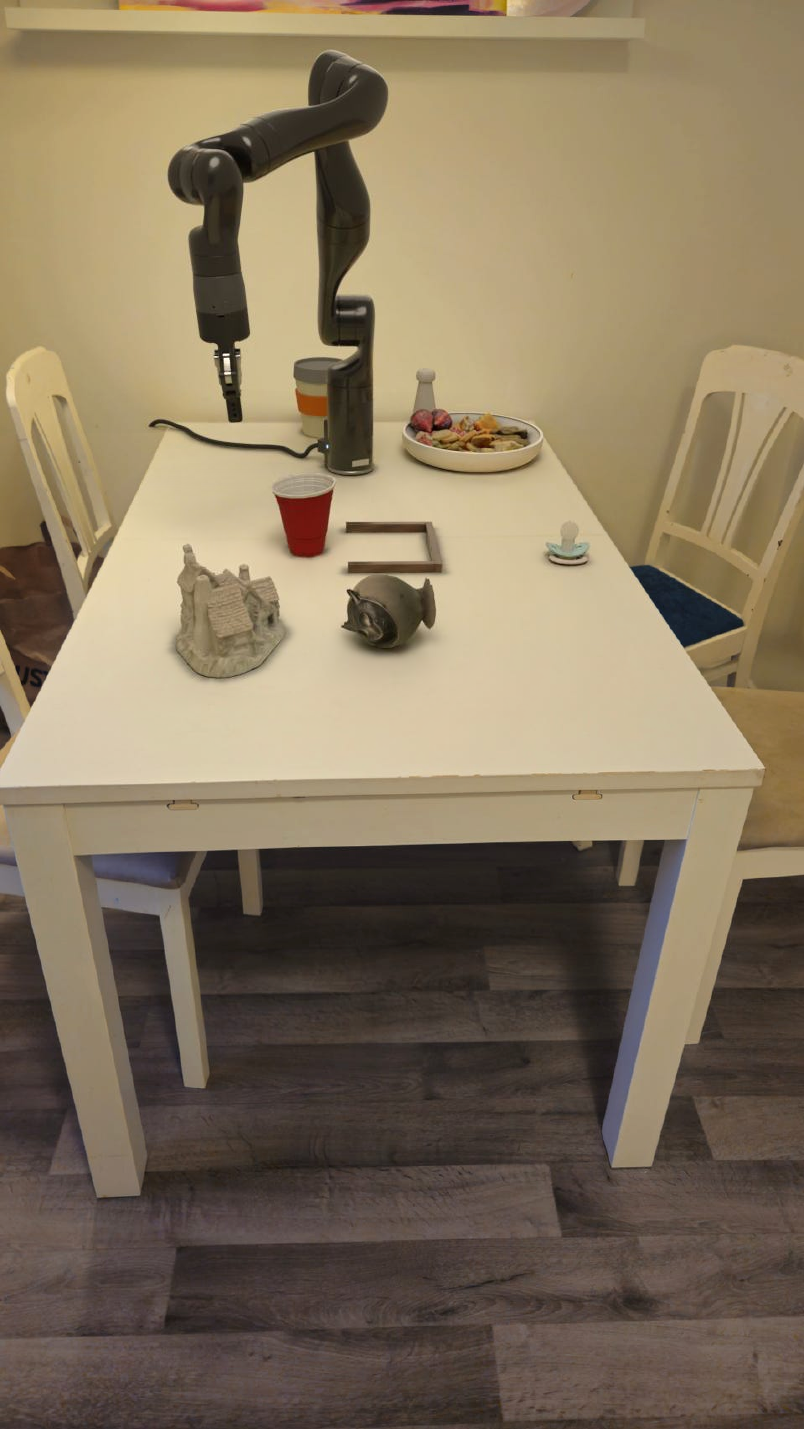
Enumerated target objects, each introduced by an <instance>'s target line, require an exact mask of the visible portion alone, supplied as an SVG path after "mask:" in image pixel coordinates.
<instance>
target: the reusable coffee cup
mask: <svg viewBox="0 0 804 1429" xmlns="http://www.w3.org/2000/svg"><path fill="white" fill-rule="evenodd" d="M342 360H343V359H342V358H337V357H330V356H329V357H327V356H313V357H305V358H300V359H297V360H295V361H294V362H293V372H292V373H293V374H292V376H293V379H294V380H295V386H296V388H295V389H294V392H295V393H294V394H295V398H296V404H297V410H298V412H299V414H300V418H301V419H300V420H301V425H302V430H303V434H304V435H305V436H308V437H312V438H319V439H321V438H324V420H325V419H327V385H326V371H327V368H328V367H329V366H330V365H332V364H334V363H337V362H339V361H342Z"/></svg>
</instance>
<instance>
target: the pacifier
mask: <svg viewBox="0 0 804 1429" xmlns="http://www.w3.org/2000/svg"><path fill="white" fill-rule="evenodd" d="M578 535H579V526H578V524H577V523H576V522H575V521H574V520H567V521H565V522H564V523H562V525H561V526H560V537H561V545H559V544H556V543H553V542H549V541H546V542H545V546H546V548H547V549H548V550H549V551H551V552H552V553H553V554H550V555H549V557H548V559H549V560H550V561H551V562H553V563H556V564H562V565H580V564H584V563H585V562H587V561H588V559H589V558H588V556H586V555H584V554H585V553H587V552H588V551H589V550H590V547H591V545H590V542H587V541H584V542H578V543H575V542H576V541H575V540H576V538H577V537H578Z"/></svg>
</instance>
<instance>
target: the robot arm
mask: <svg viewBox="0 0 804 1429" xmlns="http://www.w3.org/2000/svg"><path fill="white" fill-rule="evenodd" d="M307 84H308V85H307V105H308V106H299V107H298V106H297V107H288V108H279V109H273V110H267V111H265V112H262V113H260V114H258V115H256V116H252V117H251V118H249V119H248V120H245V121H244V122H242V123H240V124H239V125H237V126H236V127H234V128H233V129H230V130H229V131H227V132H223V133H219V134H216V135H213V136H209V137H206V138H202V139H199V140H197V141H194V142H192V143H189V144H186V145H185V146H183V147H182V148H180V149H179V150H178V151H176V153H175V154H174V155H173V156H172V158H171V159H170V162H169V164H168V168H167V182H168V186H169V189H170V190H171V192H172V193H173V195H174V196H175V197H176V198H177V199H178V200H179V201H180V202H182V203H185V204H187V205H191V206H198V207H203V219H202V224H200V225H197V226H194V227H192V229H190V231H189V233H188V237H187V241H188V243H187V244H188V251H189V258H190V265H191V271H192V291H193V292H192V293H193V301H194V307H195V312H196V321H197V328H198V334H199V338H200V340H201V341H203V342H205V343H207V344H214V345H216V346H217V348H216V349H215V348H214V349H213V352H214V353H213V361H214V366H215V367H216V370H217V378H218V384H219V385H220V386H221V391H222V397H223V399H224V400H225V406H226V412H227V419H228V420H227V421H228V422H229V423H230V424H235V423H242V422H243V409H242V408H243V407H242V400H241V399H242V398H241V397H242V389H241V385H242V381H243V380H242V379H243V378H242V377H243V373H242V350H241V347H236V344H235V343H237V342H243V341H245V340H247V339H248V338H249V337H250V336H251V328H250V318H249V308H248V300H247V291H246V284H245V280H244V277H243V270H242V262H241V253H240V245H239V235H240V228H241V221H242V220H241V219H242V211H243V201H244V194H245V192H244V190H245V189H244V188H245V186H244V184H250V183H255V182H257V181H259V180H261V179H262V178H265V177H267V176H268V175H270V174H272V173H273V172H275V171H277V170H279V169H280V168H282V167H283V166H285V165H287V164H288V163H290V162H292V161H294V160H297V159H299V158H301V157H303V156H306V155H308V154H312V153H313V156H314V171H315V172H314V174H315V193H316V194H315V196H316V197H315V198H316V199H315V200H316V201H315V203H316V204H315V212H316V214H315V216H316V217H315V218H316V221H315V222H316V241H317V242H316V243H317V256H318V288H317V290H318V291H317V294H318V295H317V311H316V312H317V314H316V316H317V317H316V318H317V320H316V321H317V324H316V325H317V333H318V337H319V340H320V341H321V343H322V344H323V345H325V346H328V347H339V348H340V347H342V348H343V347H344V348H345V347H349V348H350V347H352V348H354V347H356V348H357V349H356V350H355V351H354V353H352V354H351V355H350V356H348V357H347V358H344V359H342V361H339V362H337V363H334V364H332V365H330V366H329V367H328V368H327V371H326V385H327V419H325V420H324V438H319V439H317V442H315V443H312V444H310V445H309V446H307V448H306V449H305V450H304V452H300V453H299V452H297V451H294V450H293V449H291V448H290V447H288V446H284V445H280V444H268V443H267V444H266V443H245V442H243V443H242V442H232V441H224V440H220V439H213V438H210V437H206V436H204V435H201V434H198V433H196V432H194V431H193V430H192V429H190V428H188V427H187V426H185V425H181V424H179V423H176V422H174V421H171V420H168V419H164V418H157V419H154V420H153V421H151V422H150V423H149V424H148V427H149V428H153V427H155V426H156V425H159V424H160V425H167V426H169V427H172V428H175V429H176V430H177V429H178V430H181V431H183V432H185V433H186V434H188V435H189V436H191V437H193V438H195V439H197V440H199V441H202V442H205V443H208V444H211V445H216V446H220V447H228V448H238V449H253V450H275V451H283V452H286V453H288V454H289V455H291V456H292V457H294V458H298V459H303V458H307V457H308V456H309V454H311V452H312V451H313V450H315V449H317V453H320V454H323V455H324V456H323V457H324V459H323V462H324V467H326V468H327V470H329V472H331V473H334V474H338V475H344V476H346V475H347V476H357V475H358V476H359V475H364V474H368V473H370V472H371V471H373V470H374V349H375V348H374V346H375V345H374V344H375V331H376V330H375V329H376V307H375V302H374V299H373V298H372V297H371V296H370V295H368V294H354V293H353V294H350V293H349V294H348V293H346V294H344V293H343V294H342V293H339V294H338V291H339V288H340V286H341V284H342V282H343V281H344V278H345V277H346V275H348V273H349V272H350V270H351V269H352V268H353V267H354V265H355V264H356V263H357V262H358V260H359V259H360V257H361V256H362V255H363V253H364V252H365V250H366V248H367V246H368V244H369V241H370V238H371V237H370V236H371V213H372V212H371V199H370V195H369V192H368V188H367V185H366V182H365V179H364V178H363V175H362V173H361V171H360V168H359V166H358V164H357V161H356V159H355V157H354V154H353V151H352V148H351V145H350V141H351V140H355V139H358V138H362V137H364V136H366V135H368V134H370V133H371V132H372V131H373V130H374V129H376V128H377V126H379V124H380V122H381V121H382V119H383V118H384V115H385V113H386V110H387V106H388V102H389V87H388V83H387V81H386V78H384V76H383V75H382V74H381V73H380V72H379V71H377V70H376V69H375V68H374V67H371V66H370V65H368V64H365V63H363V62H362V61H360V60H358V59H355V58H353V57H352V56H350V55H348V54H347V53H344V52H341V51H339V50H335V49H327V50H325V51H322V52H321V53H319V55H318V56H317V57H316V59H315V60H314V62H313V64H312V67H311V70H310V73H309V77H308V83H307Z"/></svg>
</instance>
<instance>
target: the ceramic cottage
mask: <svg viewBox="0 0 804 1429" xmlns="http://www.w3.org/2000/svg"><path fill="white" fill-rule="evenodd" d="M182 550H183V554H184V555H183V564H184V565H183V566H184V567H183V569H182V570H181V571H180V573H179V574H178V576H177V580H176V583H177V585H178V586H179V588H180V593H181V599H182V602H181V604H180V608H181V609H180V618H179V619H180V624H181V625H180V626H181V627H180V629H179V631H178V634H177V638H176V644H175V646H176V648H175V650H176V651H177V652H178V653H179V656H181V657H182V658H183V659H184V660H185V662H186V663H187V664H188V665H189V666H190V668H191V669H192V670H193V671H195V673H196V674H199V675H201V676H205V677H207V678H217V679H220V678H222V679H223V678H225V679H226V678H231V677H235V676H238V675H242V674H246V673H247V672H250V671H251V670H254V669H256V668H257V667H260V666H262V664H263V663H264V661H265V660H266V659H267V658H268V656H270V655H271V653H272V651H274V649H275V648H276V647H277V646H278V645H279V644H280V642H282V640H283V639H284V638H285V635H286V630H285V627H284V625H283V623H282V622H281V621H279V617H280V608H281V605H280V602H279V601H280V598H279V597H280V596H279V594H278V591H277V588H276V585H275V582H274V580H273V579H272V577H271V576H266V577H261V578H258V579H251V575H250V567H249V565H248V564H245V563H242V564H240V565H239V566H238V568H239V569H238V576H237V575H236V574H235V573H233V572H232V571H231V570H230V569H228V568H226V567H225V568H224V569H223V571H222V573H217V574H216V573H215V572H213V571H211V570H210V569H208V568H207V567H206V566H203V565H201V564H200V563H199V562H197V558H196V554H195V553H194V551H193V547H192V545H191V544H190V543H185V544H184V545H182Z"/></svg>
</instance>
